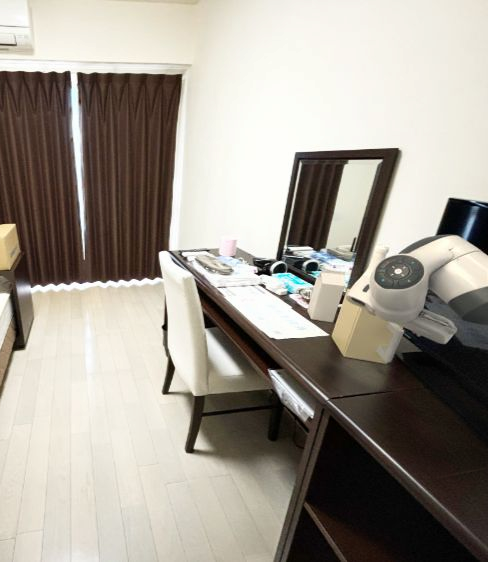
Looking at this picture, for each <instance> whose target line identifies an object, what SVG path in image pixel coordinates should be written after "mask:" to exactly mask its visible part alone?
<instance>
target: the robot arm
mask: <svg viewBox="0 0 488 562" xmlns="http://www.w3.org/2000/svg"><path fill="white" fill-rule="evenodd" d="M362 275H363V274H362ZM362 275H361V276H362ZM361 276H360V278H358V280H357V281H355V283H354V284H353V285H352V286H351V287H350V288H349V289H350V291H349V292H348V294H347V295H346V300H347V301H349V302H350V303H352V304H354V305H357V306H359V307H361V308H363V309H365V310H367V311H368V312H369V314H371V315H373V316H376V315H377V316H378V317H379V318H381V319H383V320H385V321H388V322H392V323H396V324H398V325H400V326H402V327H403V328H404V329H407V330H409V331H411V334H413V335H414V336H417V337H419V338H420V337H424V338H426V339H428V340H431V341H433V342H435V343H437V344H441V345H446V344H447V343H448V342H449V341H450V340H451V338H452V337H453V336H454V335H455V334H457V331H458V328H457V327H456V325H455V324H454V322H453V321H452V320H451V319H449V318H447V317H445V316H443V315H440V314H437V313H435V312H434V311H430V310H428V309H425V308H424V307H425V303H426V297H427V295H428V290H431V292H433V293H434V294H435V295H436V296H437V297H439V298H440V299H441V300H442V301H443V302H445V303H446V305H447V306H448V307H449V308H450V310H452V311H453V312H454V313H455V315H457V317H458V318H460V319H461V321H464V322H466V323H471V324H475V325H481V326H488V255H487V254H486V253H485V252H484V251H482V250H481V249H479V247H477V246H475V245H474V244H472V243H470V242H469V241H468V240H466V239H465V238H463V237H461V236H460V235H458V234H438V235H431V236H427V237H424V238H421V239H419V240H417V241H414V242H413V243H411V244H409V245H407V246H406V247H405V248H403V249H402V250H401V251H399V252H398V253H397V254H392V255H389V256H387V257H385V259H383V260H382V261H380V262H379V263H378V264H377V265H376V267H375V268H374V270H373V271H372V273H371V276H366V275H363V276H362V277H361Z"/></svg>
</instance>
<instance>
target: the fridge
mask: <svg viewBox="0 0 488 562" xmlns="http://www.w3.org/2000/svg"><path fill="white" fill-rule="evenodd" d="M350 289H351V288H347V289H346V292H345V295H344V298H343V301H342V304H341V306H340V310H339V313H338V316H337V318H336V322H335V324H334V327H333V330H332V333H331V338H332V340H333V342H334V343H335V345H336V346H337V348H338V350H339V351H340V353H341V355H342V356H343V354H344V351H345V349H346V346H347V343H348V340H349V337H350V335H351V332H352V329H353V326H354V324H355V321H356V318H357V315H358V313H359V310H360V307H359V306H357V305H354V304H352V303H350V302H349V301H347V300H346V295H347V294H348V292H349V291H350Z"/></svg>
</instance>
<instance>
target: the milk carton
mask: <svg viewBox="0 0 488 562" xmlns="http://www.w3.org/2000/svg"><path fill="white" fill-rule="evenodd" d="M345 273H346V271H341V270H332V269H331V270H330V269H321V272H320V273H319V274H318V275H317V276H316V279H315V283H314V286H313V290H312V292H311V296H310V298H309V299H310V300H309V303H308V307H307V314H308V315H309V317H310V320H314V321H319V322H325V323H334V320H335V318H336V315H337V311H338V309H339V306H340V302H341V299H342V296H343V293H344V290H345V286H346V280H345Z"/></svg>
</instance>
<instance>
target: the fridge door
mask: <svg viewBox="0 0 488 562" xmlns="http://www.w3.org/2000/svg"><path fill="white" fill-rule="evenodd" d="M403 328H404V327H402V326H400V325H398V324H396V323H392V322H388V321H385V320H383V319H381V318H379V317H378V316H377V315H376V316H373V315H371V314H369V312H368V311H367V310H365V309H363V308H361V307H360V310H359V313H358V315H357V318H356V321H355V324H354V326H353V329H352V332H351V335H350V337H349V340H348V343H347V346H346V349H345V351H344V354H343V355H342V357H344V358H349V359H354V360H361V361H367V362H373V363H379V364H382V365H383V364H384V365H388V363H391V362H392V361H393V358H394V356H395V354H396V351H397V349H398V347H399V344H400V342H401V340H402V338H403V335H404V333H405V330H404V329H403Z"/></svg>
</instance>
